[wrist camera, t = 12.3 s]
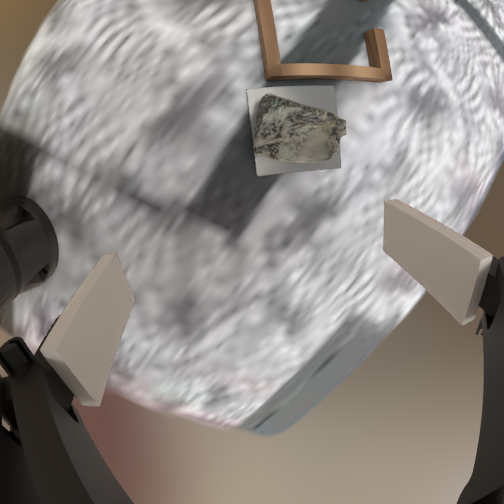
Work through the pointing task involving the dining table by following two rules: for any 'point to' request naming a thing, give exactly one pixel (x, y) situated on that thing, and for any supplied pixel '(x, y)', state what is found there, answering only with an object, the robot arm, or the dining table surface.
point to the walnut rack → (278, 71)
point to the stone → (295, 131)
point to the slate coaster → (303, 95)
